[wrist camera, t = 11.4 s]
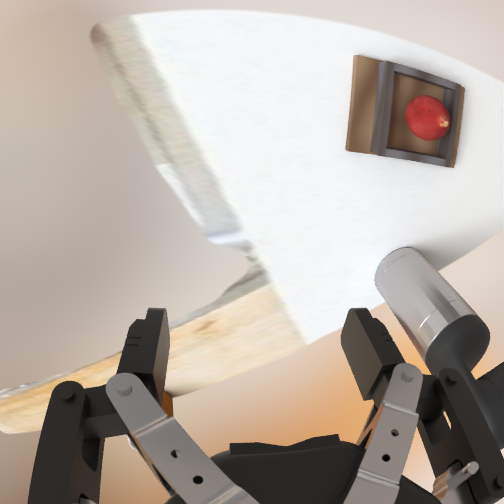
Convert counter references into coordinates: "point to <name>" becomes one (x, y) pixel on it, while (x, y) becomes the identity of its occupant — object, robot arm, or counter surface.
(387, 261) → the robot arm
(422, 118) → the onion
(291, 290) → the counter surface
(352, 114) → the pocket board
